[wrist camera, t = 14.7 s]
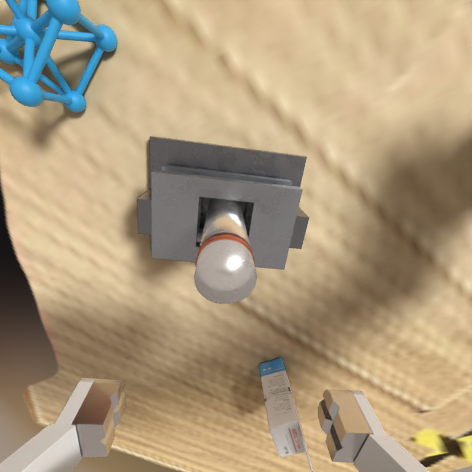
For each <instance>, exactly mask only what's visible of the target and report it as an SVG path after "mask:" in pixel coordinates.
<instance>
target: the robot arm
mask: <svg viewBox="0 0 472 472" xmlns="http://www.w3.org/2000/svg"><path fill="white" fill-rule="evenodd" d="M124 387H125V383H124V380H112V379H97V378H82V379H81V380H80V381H79V382H78V384H77V386H76V387H75V389H74V391H73V393H72V394H71V396H70V398H69V399H68V401H67V403H66V405H65V406H64V408H63V410H62V411H61V413H60V415H59V417H58V418H57V420H56V422H55V423H54V424H49V425H48V426H47V427H45V428H44V429H43V430H42V431H40V432H39V433H38V434H37V435H35V436H34V437H33V438H32V439H30V440H29V441H28V442H27V443H25V444H24V445H23V446H22V447H20V448H19V449H18V450H17V451H15V452H14V453H13V454H12V455H10V456H9V457H8V458H7V459H5V460H4V461H3V462H2V463H0V472H70V471H71V470H72V469H73V468H74V467H75V466H76V465H77V463H78V462H79V461H80V460H81V459H82V457H107V456H108V453H109V450H110V448H111V445H112V442H113V440H114V437H115V429H114V427H115V426H116V425H117V424H118V423H119V422H120V420H121V417H122V414H123V410H124V406H125V399H126V396H125V393H124V392H123V390H124ZM323 397H324V400H322V401H321V402H320V403H319V406H318V418H319V423H320V426H321V429H322V430H323V431H324V432H325V433H326V434H327V437H326V444H327V447H328V450H329V454H330V457H331V460H332V462H349V463H354V466H355V467H356V468H357V470H358V471H359V472H429V471H428V470H427V469H426V468H425V467H424V466H423V465H422V464H421V463H420V462H418V461H417V460H416V459H415V458H414V457H413V456H412V455H411V454H410V453H409V452H408V451H407V450H405V449H404V448H403V447H402V446H401V445H400V444H399V443H398V442H397V441H396V440H395V439H394V438H392V437H391V436H390V435H386V433H385V432H384V430H383V428H382V426H381V424H380V422H379V420H378V419H377V417H376V415H375V413H374V411H373V409H372V407H371V405H370V404H369V402H368V400H367V398H366V396H365V394H364V393H363V392H362V391H349V390H325V391H324V393H323Z"/></svg>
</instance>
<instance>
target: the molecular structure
mask: <svg viewBox="0 0 472 472" xmlns="http://www.w3.org/2000/svg"><path fill="white" fill-rule="evenodd" d="M5 1H6V2H7V4H8V5H9V7H10V8H11V10H12V12H13V13H14V18H13V21H12V23H11V26H10V25H0V35H7V37H6V39H4V38H0V61H2V62H4V63H6V64H10V65H14V64H18V65H20V66H21V67H22V68H23V77H16V78H14V77H12V76H11V75H9V74H8V73H6V72H5V71H4V70H2V69H1V68H0V79H2V80H3V81H5V82H6V83H8V84H9V88H10V92H11V94H12V96H13V97H14V99H15V100H17V101H18V102H19V103H21V104H23V105H25V106H29V107H35V106H38V105H40V104H41V103H42V101H43V99H44V100H50V101H55V102H61V103H64V105H65V106H66V107H67V108H68V109H69V110H70V111H72V112H82V111H83V110H84V109H85V107H86V101H85V98H84V97H83V95H82V94H83V92H84V90H85V88H86V86H87V84H88V82H89V80H90V78H91V76H92V74H93V72H94V70H95V68H96V66H97V64H98V62H99V60H100V58H101V56H102V54H103V52H104V51H106V52H111V51H114V50H115V49H116V47H117V38H116V35H115V33H114V32H113V30H112V29H111V28H109V27H108V26H106V25H98V26H95V25H94V24H93V23H91V22H90V21H89V20H88V19H87V18H85V17H84V16H83V15H82V14H81V10H80V6H79V3H78V1H77V0H46V4H47V7H48V9H49V10H47V11H46V12H45V13H44V14H43V15H41V16H40V17H39V18H38V19H37V1H38V0H20V2H19V5H18V4H17V2H16V0H5ZM26 14H27V16H26ZM36 19H37V20H36ZM77 22H78V23H79V24H80V25H82V26H83V27H84V28H86V29H87V30H89V31H90V32H91V33H84V32H74V31H63V30H60V29H61V27H62V25H63V24H66V25H74V24H76V23H77ZM47 27H48V28H47ZM45 28H47V29H45ZM56 39H62V40H75V41H88V42H95V43H96V45H97V47H96V49H95V51H94V53H93V55H92V57H91V59H90V61H89V64H88V66H87V68H86V70H85V72H84V74H83V76H82V78H81V80H80V82H79V84H78V86H77V88H76V90H71V89H70V87H69V86H68V84H67V82H66V81H65V79H64V78H63V76H62V74H61V73H60V71H59V70H58V68H57V66H56V65H55V63H54V61H53V60H52V58H51V57H50V52H51V50H52V48H53V46H54V43H55V41H56ZM24 44H25V47H24V60H23V59H21V58H20V52H19V50H18V49H19V48H20V47H22V46H23V45H24ZM35 48H36V49H37V50H38V52H37V54H36V57H35V59H34V55H35ZM45 64H47V66H48V67H49V69H50V70H51V72H52V73H53V75H54V76H55V78H56V79H57V81H58V83H59V84H60V86H61V87H62V88H61V87H59V86H58V85H57V84H55V83H54V82H53V81H51V80H50V79H49V78H47V77H46V76H44V75H43V74H42V71H43V69H44V66H45ZM38 80H40V81H42V82H43V83H45V84H46V85H47V86H49V87H50V88H51V89H53V90H54V91H56V92H57V93H58V94H54V93H49V92H45V91H42V89H41V88H40V86H39V85H38V84H37V82H38ZM59 94H60V95H59Z"/></svg>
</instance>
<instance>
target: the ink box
mask: <svg viewBox="0 0 472 472" xmlns="http://www.w3.org/2000/svg"><path fill="white" fill-rule="evenodd" d="M259 368H260V375H261V381H262V387H263V394H264V400H265V406H266V413H267V419H268V426H269V430H270V433H271V436H272V438H273V441H274V443H275V446H276V449H277V451H278V453H279V456H280V457H284V456H289V455H293V454H297V453H301V452H306V455H307V458H308V461H309V465H310V468H311V471H312V472H313V469H312V465H311V461H310V457H309V453H308V450H307V446H306V442H305V438H304V435H303V431H302V427H301V423H300V419H299V416H298V412H297V408H296V404H295V400H294V396H293V393H292V389H291V386H290V382H289V379H288V375H287V372H286V369H285V366H284V363H283V360H282V358H279V359H275V360H271V361H268V362H264V363H260V364H259Z"/></svg>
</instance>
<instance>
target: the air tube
mask: <svg viewBox="0 0 472 472" xmlns="http://www.w3.org/2000/svg"><path fill="white" fill-rule="evenodd" d="M256 279H257V275H256V270H255V260H254V255H253V251H252V248H251V246H250V244H249V239H248V235H247V231H246V227H245V222H244V218H243V214H242V209H241V205H240V202H239V201H235V200H226V199H217V198H211V199H210V201H209V205H208V210H207V214H206V219H205V224H204V229H203V234H202V239H201V244H200V247H199V250H198V253H197V258H196V269H195V275H194V280H195V285H196V287H197V289H198V291H199V292H200V293H201V295H202V296H204V297H205V298H206V299H208V300H210V301H212V302H215V303H220V304H231V303H235V302H238V301H240V300H242V299H244V298H245V297H247V296H248V295H249V294H250V293H251V292H252V290H253V289H254V287H255V284H256Z"/></svg>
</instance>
